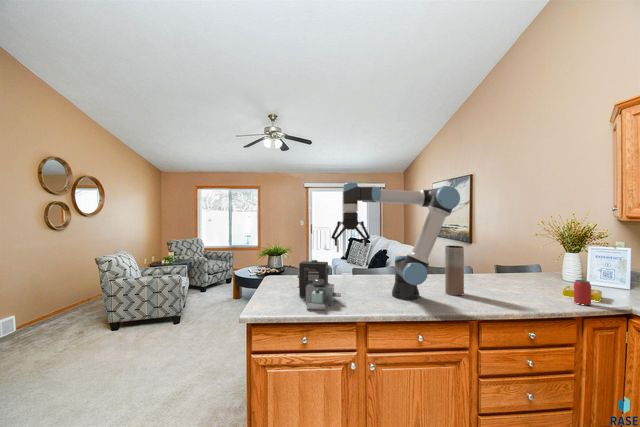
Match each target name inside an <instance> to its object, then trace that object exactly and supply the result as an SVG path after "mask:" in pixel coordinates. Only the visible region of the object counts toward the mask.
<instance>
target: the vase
mask: <svg viewBox="0 0 640 427" xmlns="http://www.w3.org/2000/svg"><path fill="white" fill-rule="evenodd" d="M444 248H445V249H444V252H445V254H444V255H445V256H444V262H445V264H444V265H445V266H444V274H445V275H444V276H445V277H444V282H445V283H444V284H445V287H444V288H445V289H444V290H445V294H447V293H448V294H447V295H449V294H453V295H452V296H454V295H461V296H463V295H462V294H464V295H465V279H464V277H465V267H464V266H465V256H464V255H465V248H464V246H462V245H445V246H444Z"/></svg>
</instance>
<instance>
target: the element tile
mask: <svg viewBox="0 0 640 427" xmlns="http://www.w3.org/2000/svg"><path fill="white" fill-rule="evenodd" d="M602 293H603V291H602V290H599V289H593V288H591V300H595V301H599V300H600V299H601V297H602V298H603V295H602ZM563 295H564V296H569V297H574V285H573V286H572V285H568V286H565V287H564V288H562V296H563ZM601 300H602V299H601ZM601 300H600V301H601Z"/></svg>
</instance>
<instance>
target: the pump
mask: <svg viewBox="0 0 640 427" xmlns="http://www.w3.org/2000/svg"><path fill="white" fill-rule="evenodd" d="M312 303H317V304H323V291H319V289H315V290H314V291H313V292H312Z"/></svg>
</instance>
